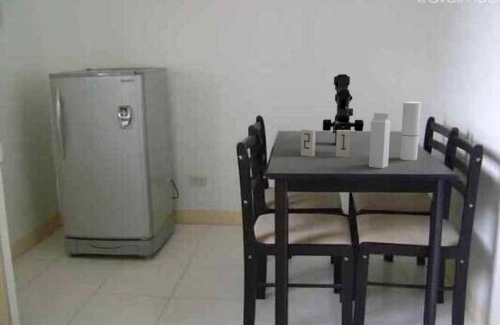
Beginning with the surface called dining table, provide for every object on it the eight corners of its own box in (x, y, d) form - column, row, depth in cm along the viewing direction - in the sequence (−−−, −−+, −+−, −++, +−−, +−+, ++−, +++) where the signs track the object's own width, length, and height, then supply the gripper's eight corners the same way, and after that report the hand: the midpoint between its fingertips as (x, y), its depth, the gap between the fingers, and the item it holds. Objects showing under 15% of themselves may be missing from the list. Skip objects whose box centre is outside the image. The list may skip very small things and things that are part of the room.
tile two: (303, 154, 220) (304, 129, 218) (314, 155, 217) (315, 130, 214) (300, 155, 218) (301, 129, 215) (312, 156, 215) (312, 130, 212)
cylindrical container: (417, 157, 210) (421, 101, 205) (416, 161, 204) (420, 103, 198) (401, 156, 213) (404, 101, 208) (399, 159, 207) (402, 102, 201)
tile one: (335, 155, 216) (336, 130, 214) (349, 156, 215) (350, 130, 213) (336, 157, 214) (336, 131, 211) (349, 157, 213) (350, 131, 210)
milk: (374, 164, 198) (376, 112, 194) (388, 166, 195) (391, 113, 190) (368, 166, 194) (371, 113, 189) (382, 168, 190) (385, 114, 185)
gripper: (323, 102, 219) (322, 128, 210) (364, 102, 216) (365, 129, 208) (323, 117, 228) (322, 143, 220) (362, 117, 225) (363, 144, 217)
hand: (342, 139), depth 216 cm, fingers closed
